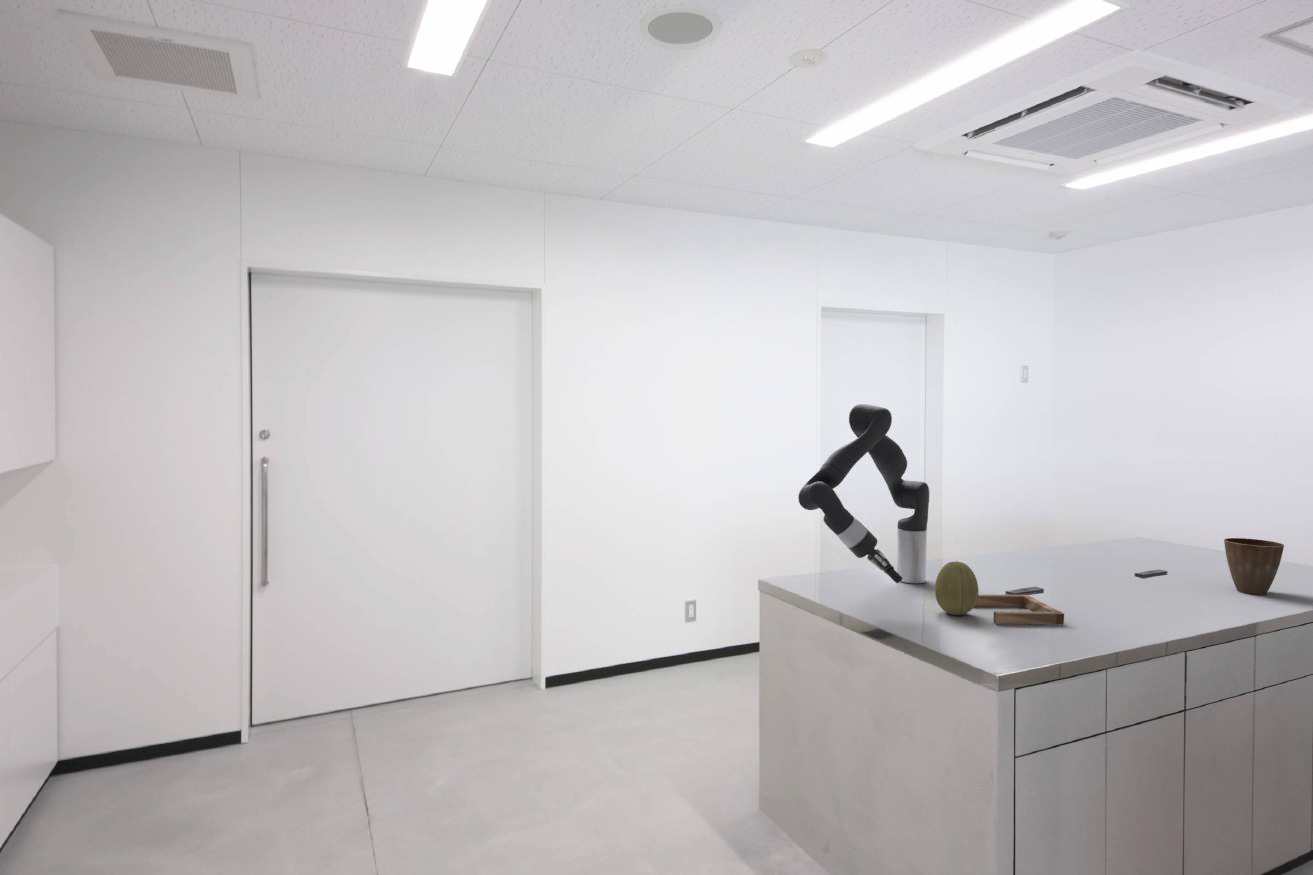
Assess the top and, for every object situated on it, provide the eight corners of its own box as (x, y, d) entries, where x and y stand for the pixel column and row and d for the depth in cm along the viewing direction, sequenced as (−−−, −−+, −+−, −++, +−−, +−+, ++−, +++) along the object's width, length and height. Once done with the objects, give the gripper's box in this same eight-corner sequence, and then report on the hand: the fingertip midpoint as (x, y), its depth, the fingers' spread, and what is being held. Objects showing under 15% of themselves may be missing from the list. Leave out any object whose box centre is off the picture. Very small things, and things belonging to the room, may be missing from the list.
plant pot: (1219, 584, 250) (1221, 536, 250) (1277, 590, 243) (1279, 540, 242) (1225, 593, 238) (1227, 543, 237) (1286, 600, 230) (1288, 548, 229)
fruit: (967, 608, 220) (968, 557, 219) (985, 619, 208) (986, 565, 208) (928, 608, 219) (929, 557, 218) (943, 619, 208) (945, 565, 207)
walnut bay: (966, 604, 224) (966, 594, 224) (1027, 604, 224) (1027, 594, 224) (996, 624, 204) (997, 613, 204) (1063, 624, 204) (1064, 613, 204)
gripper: (872, 531, 206) (917, 576, 207) (859, 524, 219) (901, 566, 220) (852, 551, 206) (897, 596, 207) (841, 542, 220) (882, 584, 220)
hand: (899, 580), depth 213 cm, fingers closed
